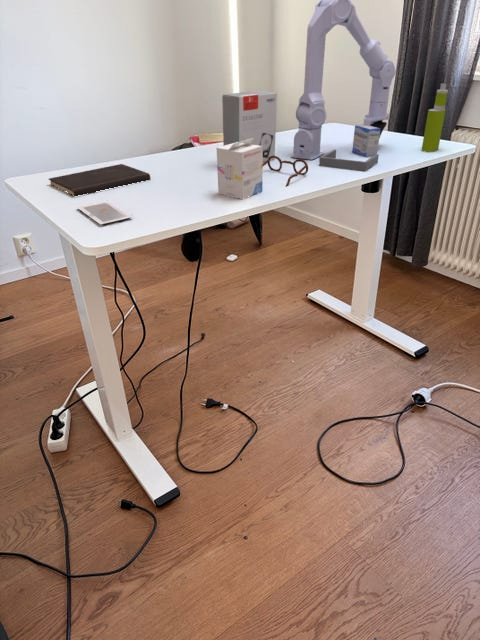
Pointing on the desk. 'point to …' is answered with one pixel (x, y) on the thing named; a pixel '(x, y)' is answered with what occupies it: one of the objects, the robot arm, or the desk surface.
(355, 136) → the medicine box
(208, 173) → the desk surface
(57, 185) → the hardcover book
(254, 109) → the hard drive box
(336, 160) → the box
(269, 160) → the glasses
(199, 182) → the desk surface
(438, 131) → the vape
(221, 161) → the ink box
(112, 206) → the touchpad
